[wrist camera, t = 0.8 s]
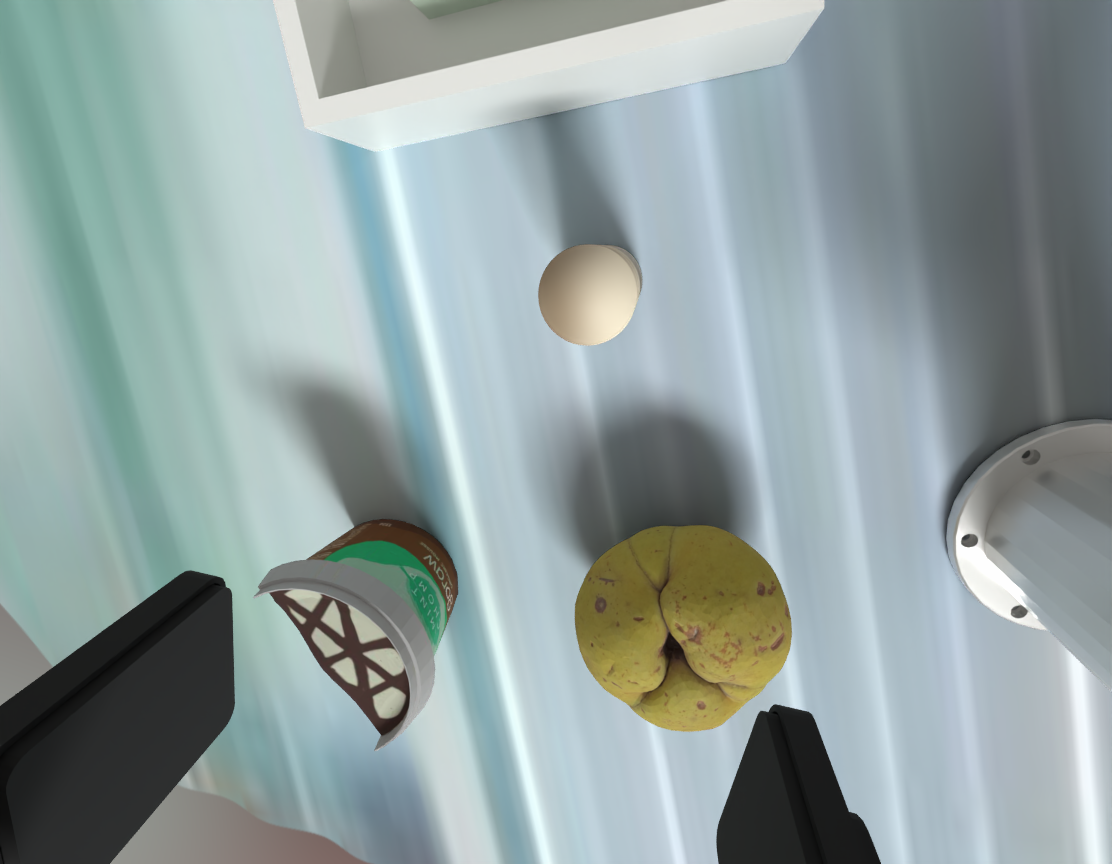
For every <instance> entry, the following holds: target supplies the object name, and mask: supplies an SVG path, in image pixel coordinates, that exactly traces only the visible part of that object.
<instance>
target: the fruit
mask: <svg viewBox="0 0 1112 864" xmlns="http://www.w3.org/2000/svg"><path fill="white" fill-rule="evenodd" d="M575 627H576V635H577V640H578V644H579V648H580V652H581V654H582V657H583V659H584V661H585V664H586V666H587V668H588V669H589V671H590V672H591V674H592V675H593V676H594V678H595V679H596V680H597V681H598V683H599V684H600V685H601V686H602V687H603V688H604V689H605V690H606V691H608V692H609V693H610V694H612V695H613V696H615V697H617V698H618V699H620V700H622V701H623V702H625V703H626V704H628V705H629V706H630V707H631V709H632V710H633V711H634V712H636V713H637V714H638V715H639V716H640V717H642V718H643V719H645V720H647V721H648V722H650V723H652V724H654V725H656V726H659V727H662V728H665V729H669V730H675V731H701V730H708V729H713V728H715V727H718V726H720V725H722V724H723V723H724V722H725V721H726V720H728V719H729V718H730V717H731V716H732V715H734V714H735V713H736V712H737V711H738V710H739V709H740V708H741V707H742V706H743V705H744V704H745V703H746V702H748V701H749V700H750V699H752V698H753V697H755V696H756V695H758V694H759V693H760V692H761V691H762V690H763V689H764V687H765V686H766V684H767V683H768V682H769V681H770V680H771V679H772V678H773V677H774V676H775V675H776V674H777V673H778V672H779V671H780V670H781V669H782V667H783V665H784V663H785V661H786V658H787V655H788V653H789V650H790V645H791V637H792V628H791V617H790V612H789V608H788V605H787V601H786V598H785V595H784V593H783V590H782V587H781V584H780V582H779V580H778V578H777V576H776V574H775V572H774V571H773V569H772V568H771V566H770V565H769V564H768V562H767V561H766V560H765V559H764V558H763V557H762V556H761V555H760V554H759V553H758V552H757V551H756V550H754V549H753V548H752V547H751V546H749V545H748V544H747V543H745V542H744V541H743V540H741V539H740V538H738V537H737V536H735V535H733V534H731V533H729V532H727V531H725V530H722V529H720V528H717V527H713V526H707V525H691V526H678V527H676V526H658V527H652V528H648V529H645V530H642V531H640V532H638V533H636V534H635V535H633V536H632V537H630V538H628V539H626V540H624V541H622V542H620V543H618V544H617V545H615V546H614V547H612V548H611V549H609V550H608V551H606V552H605V553H604V554H603V555H602V556H601V557H600V558H599V559H598V560H597V561H596V562H595V563H594V564H593V565H592V567H591V568H590V570H589V572H588V573H587V575H586V577H585V579H584V582H583V584H582V586H581V588H580V591H579V593H578V596H577V600H576V604H575Z"/></svg>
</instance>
